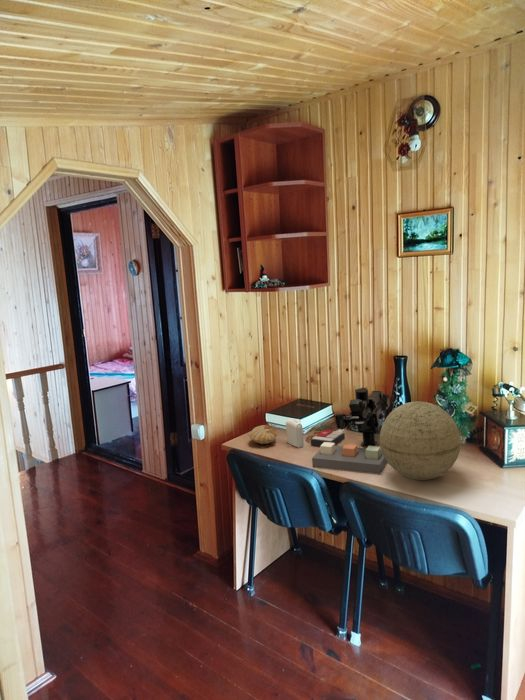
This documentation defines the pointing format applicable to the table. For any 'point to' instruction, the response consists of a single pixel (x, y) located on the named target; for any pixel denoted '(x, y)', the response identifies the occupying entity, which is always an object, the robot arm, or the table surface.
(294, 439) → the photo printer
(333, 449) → the cream button
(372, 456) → the sage button
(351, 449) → the terracotta button
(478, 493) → the table surface
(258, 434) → the seashell
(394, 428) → the brown large sphere
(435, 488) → the table surface
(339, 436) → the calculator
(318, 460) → the button panel
